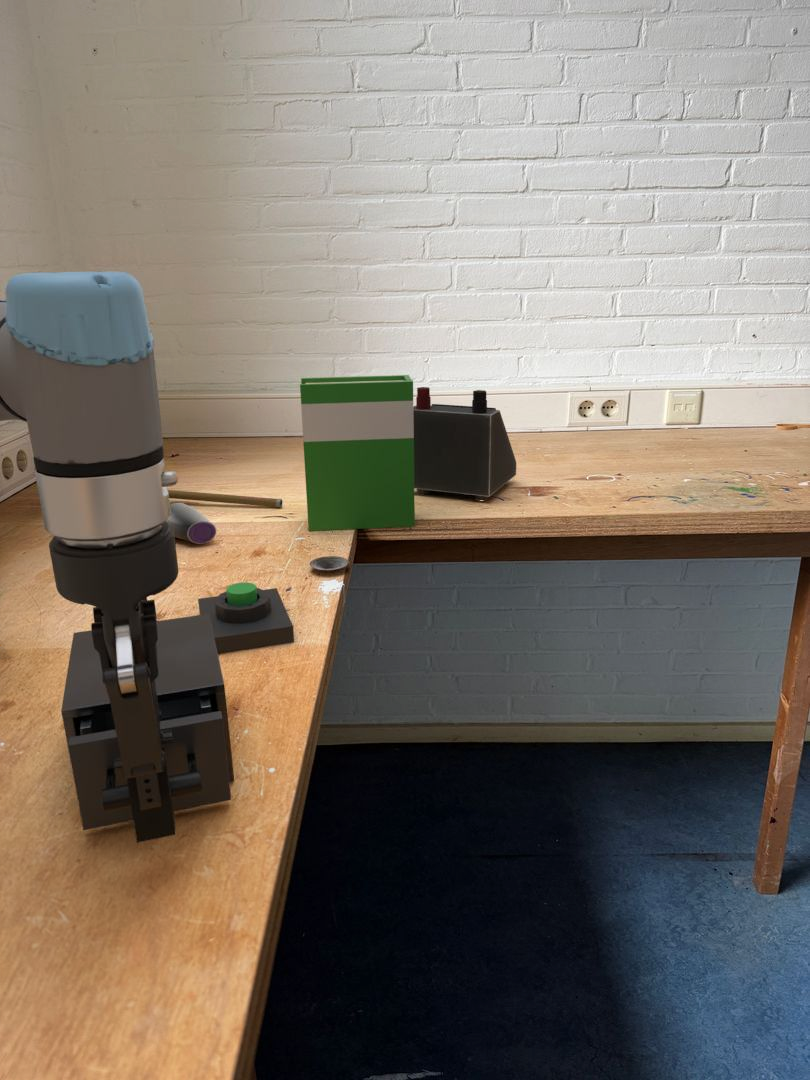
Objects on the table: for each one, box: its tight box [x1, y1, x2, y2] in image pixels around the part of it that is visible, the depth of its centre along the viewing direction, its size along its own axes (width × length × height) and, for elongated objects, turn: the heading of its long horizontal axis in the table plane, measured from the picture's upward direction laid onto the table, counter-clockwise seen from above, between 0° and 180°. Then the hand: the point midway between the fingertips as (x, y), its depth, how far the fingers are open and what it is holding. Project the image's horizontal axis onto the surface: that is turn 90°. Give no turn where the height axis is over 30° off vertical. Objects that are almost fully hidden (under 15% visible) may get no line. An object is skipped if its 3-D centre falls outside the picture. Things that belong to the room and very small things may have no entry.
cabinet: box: [60, 614, 235, 811], centre depth 72 cm, size 15×13×10 cm
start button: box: [225, 581, 258, 606], centre depth 96 cm, size 4×4×2 cm
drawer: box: [67, 695, 232, 831], centre depth 67 cm, size 18×11×8 cm, turn 18°
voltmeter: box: [413, 386, 517, 501], centre depth 151 cm, size 16×16×20 cm
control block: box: [197, 587, 295, 655], centre depth 97 cm, size 12×10×4 cm
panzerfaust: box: [167, 489, 283, 509], centre depth 147 cm, size 5×35×5 cm
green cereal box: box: [299, 374, 416, 532], centre depth 132 cm, size 18×7×24 cm, turn 95°
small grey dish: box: [309, 555, 350, 573], centre depth 115 cm, size 6×6×1 cm
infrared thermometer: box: [166, 502, 217, 545], centre depth 126 cm, size 5×12×15 cm
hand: (156, 831), depth 58 cm, fingers closed
